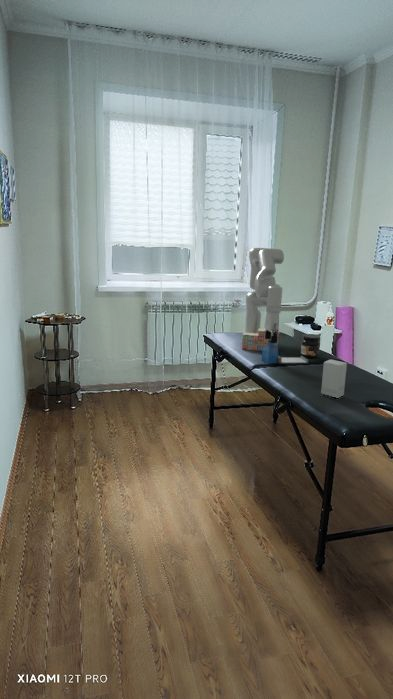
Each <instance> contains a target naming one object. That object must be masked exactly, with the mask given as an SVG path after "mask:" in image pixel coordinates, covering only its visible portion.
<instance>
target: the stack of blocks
mask: <svg viewBox="0 0 393 699" xmlns="http://www.w3.org/2000/svg"><path fill="white" fill-rule="evenodd" d="M265 330H266V329H265V328H260V329H258V334H257V333H245V331H244V332H242V338H241V350H245V351H246V350H247V351H257V352H258V351H259V352H262V350H263V348H264V347H265V346H268V342H269V340H271V339H265V332H266V331H265ZM280 333H281V332H280V330H278V336H277V343H274V346H275V347H276V348H277V350H278V351H279V343H280ZM271 335H272V331H271Z"/></svg>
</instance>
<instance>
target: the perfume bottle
mask: <svg viewBox="0 0 393 699" xmlns="http://www.w3.org/2000/svg"><path fill="white" fill-rule="evenodd" d="M261 352H262V353H261V361H262V362H264V363H266V364H269V365H270V364H277V363H278V356H279V349H278V350H277V348H276V347H275V346H274V343H271V340H269V342H268V346H265V347H264V348H263V350H262V351H261ZM278 364H279V363H278Z"/></svg>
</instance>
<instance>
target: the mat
mask: <svg viewBox="0 0 393 699" xmlns="http://www.w3.org/2000/svg"><path fill="white" fill-rule="evenodd" d="M281 358H282V360H281V363H280V364H309V359H308V358H306V357H303V356H301V355H300V357H281Z"/></svg>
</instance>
